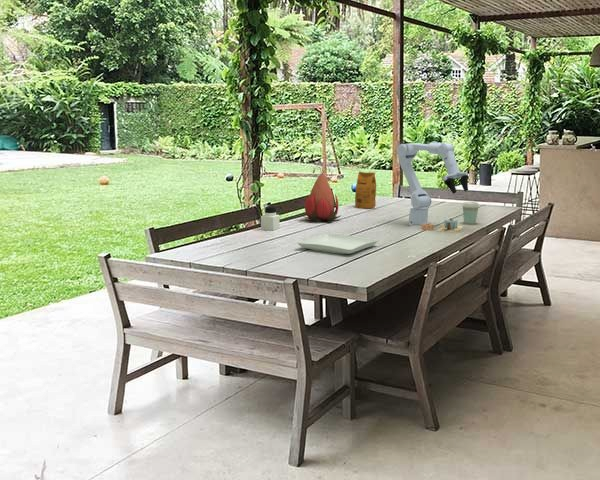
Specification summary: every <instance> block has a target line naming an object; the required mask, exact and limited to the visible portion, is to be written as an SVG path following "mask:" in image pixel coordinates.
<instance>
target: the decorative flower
mask: <svg viewBox="0 0 600 480" xmlns="http://www.w3.org/2000/svg"><path fill="white" fill-rule="evenodd" d="M326 166H327V167H328V168H327V169H324V167H326ZM317 168H319V170H320V171H321V173H320V174H319V175H318V177H317V178H316V179H315V182H314V184H313V186H312V188H311V190H310V193H309V196H306V198H305V200H304V211H305V215H306V216H305V215H303V217H305V219H308V220H306V221H308V222H317V221H318V222H322V223H332V220H336V219H339V218H341V216H342V215H338V211H339V201H338V200H339V199H338V197H337V195H336V194H333V191H332V188H331V185H330V184H329V182H328V179H327V177H326V176H325V171H326V170H328V171H329V172H331V174H330V176H331V177H332V176H333V173H332V171H331V169H330V166H329V165H328V164H327V165H326V164H325V165H324V166H322V169H321V167H320V166H318V165H317ZM315 172H316V169H313V170H312V174H315ZM334 197H335V199H334ZM337 215H338V216H337Z"/></svg>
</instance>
